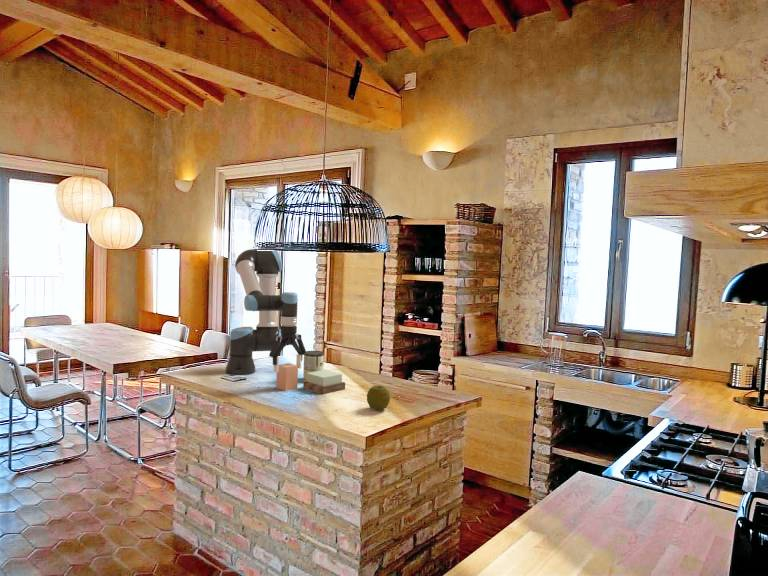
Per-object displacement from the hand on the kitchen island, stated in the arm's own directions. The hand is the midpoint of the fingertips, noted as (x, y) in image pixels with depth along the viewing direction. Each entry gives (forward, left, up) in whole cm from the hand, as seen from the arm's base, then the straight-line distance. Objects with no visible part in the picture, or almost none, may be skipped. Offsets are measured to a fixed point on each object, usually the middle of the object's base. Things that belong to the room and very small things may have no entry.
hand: (287, 370), depth 269 cm
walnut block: (+12, +13, -10) cm, 20 cm away
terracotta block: (0, 0, -9) cm, 9 cm away
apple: (+52, +7, -9) cm, 53 cm away
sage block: (+11, +13, -6) cm, 18 cm away
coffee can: (-5, +21, -9) cm, 24 cm away
